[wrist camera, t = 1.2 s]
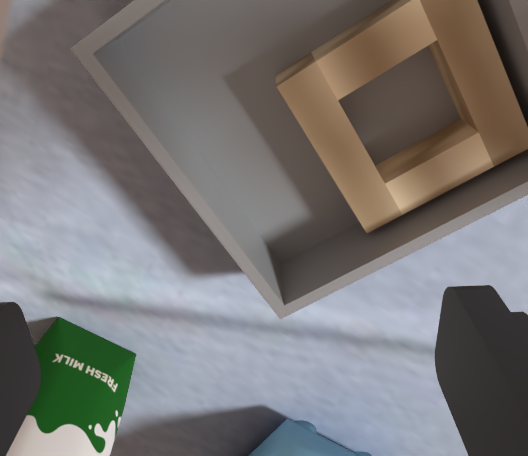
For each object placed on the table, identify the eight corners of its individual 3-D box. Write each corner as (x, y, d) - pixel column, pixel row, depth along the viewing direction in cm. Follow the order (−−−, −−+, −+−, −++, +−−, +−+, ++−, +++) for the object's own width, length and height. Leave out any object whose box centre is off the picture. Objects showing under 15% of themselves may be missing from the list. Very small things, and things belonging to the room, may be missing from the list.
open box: (407, -195, 25) (445, -234, 20) (535, 131, 33) (586, 164, 28) (102, 32, 30) (69, 48, 25) (277, 269, 38) (280, 319, 33)
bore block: (444, -35, 28) (463, -34, 25) (512, 129, 32) (534, 145, 30) (275, 75, 31) (276, 86, 28) (358, 212, 35) (366, 233, 32)
